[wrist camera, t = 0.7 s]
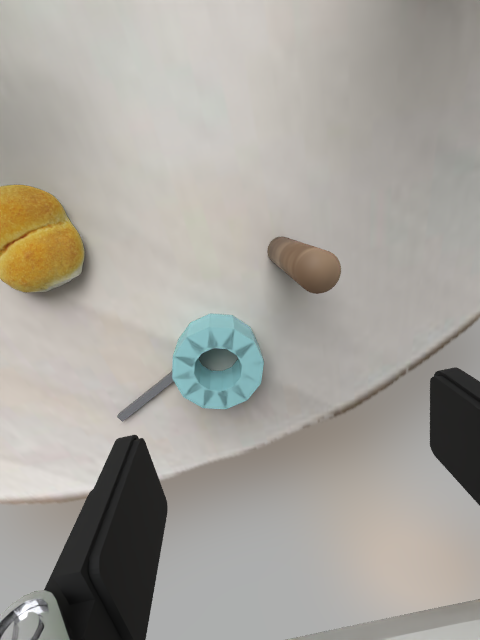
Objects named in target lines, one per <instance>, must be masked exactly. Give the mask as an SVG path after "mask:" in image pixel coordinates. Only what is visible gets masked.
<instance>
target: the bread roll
mask: <svg viewBox="0 0 480 640" xmlns="http://www.w3.org/2000/svg"><path fill="white" fill-rule="evenodd" d="M83 261H84V247H83V243H82V240H81V238H80V235H79V233H78V232H77V230H76V229H75V227H74V226H73V225H72V224H71V222H70V220H69V219H68V217H67V215H66V213H65V211H64V209H63V207H62V205H61V204H60V203H59V201H58V200H57V199H56V198H55V197H54V196H53V195H51V194H50V193H47V192H45V191H43V190H40V189H38V188H34V187H30V186H25V185H7V186H1V187H0V279H1V280H2V281H3V282H5V283H6V284H8V285H9V286H11V287H12V288H14V289H16V290H19V291H22V292H47V291H49V290H51V289H54V288H56V287H58V286H61V285H63V284H65V283H67V282H69V281H71V280H72V279H73V278H75V277H77V276H79V275H80V274H81V272H82V266H83Z"/></svg>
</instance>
